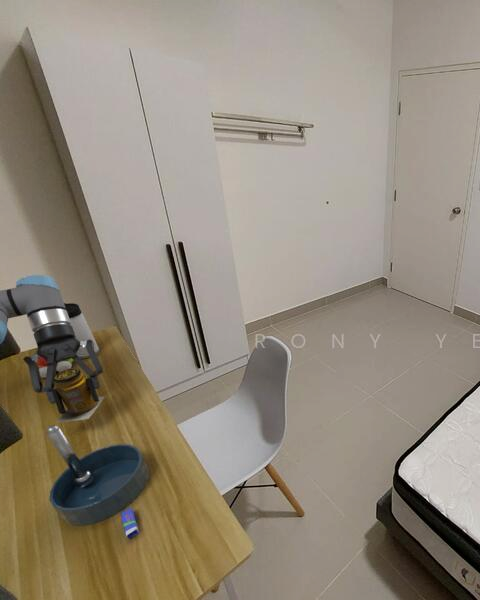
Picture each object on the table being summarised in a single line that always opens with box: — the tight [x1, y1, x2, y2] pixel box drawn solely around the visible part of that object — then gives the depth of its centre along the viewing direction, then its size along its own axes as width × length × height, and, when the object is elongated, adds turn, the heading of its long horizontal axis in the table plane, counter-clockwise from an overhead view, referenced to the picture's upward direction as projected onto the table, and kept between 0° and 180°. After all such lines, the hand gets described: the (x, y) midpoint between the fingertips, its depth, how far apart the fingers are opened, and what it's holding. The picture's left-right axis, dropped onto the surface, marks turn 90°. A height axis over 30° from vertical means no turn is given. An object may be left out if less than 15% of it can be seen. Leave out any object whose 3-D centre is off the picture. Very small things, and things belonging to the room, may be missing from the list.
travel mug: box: [64, 302, 100, 360], centre depth 116 cm, size 6×7×20 cm
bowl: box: [49, 443, 150, 527], centre depth 76 cm, size 16×16×6 cm
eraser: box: [120, 507, 140, 540], centre depth 71 cm, size 2×6×2 cm, turn 44°
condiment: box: [53, 367, 106, 424], centre depth 88 cm, size 7×8×12 cm
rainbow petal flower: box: [37, 357, 74, 379], centre depth 110 cm, size 8×10×7 cm
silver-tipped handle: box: [45, 424, 94, 487], centre depth 73 cm, size 4×4×19 cm
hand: (80, 406), depth 87 cm, fingers closed on condiment, 6 cm apart
